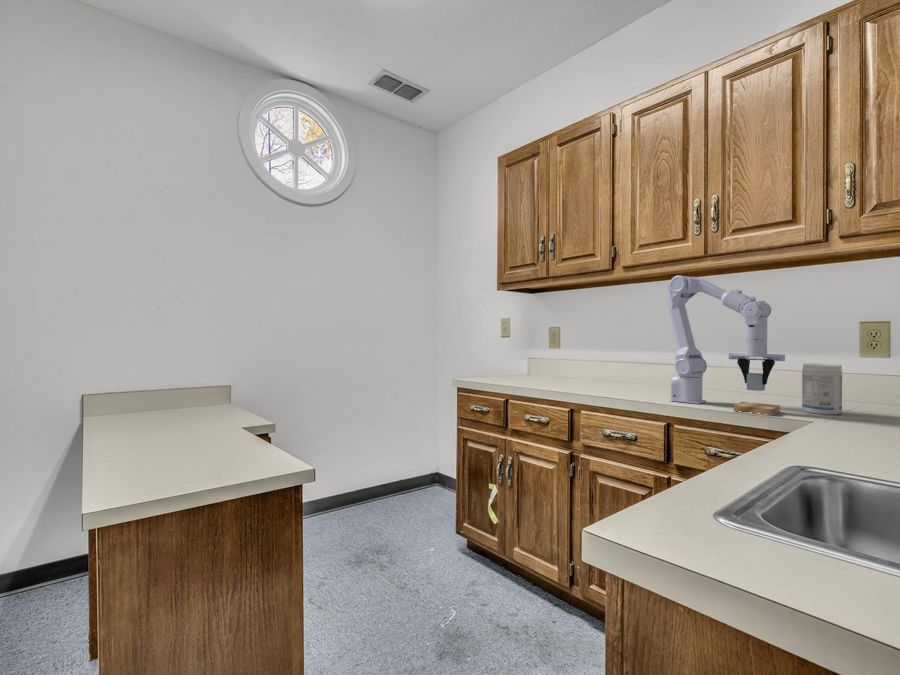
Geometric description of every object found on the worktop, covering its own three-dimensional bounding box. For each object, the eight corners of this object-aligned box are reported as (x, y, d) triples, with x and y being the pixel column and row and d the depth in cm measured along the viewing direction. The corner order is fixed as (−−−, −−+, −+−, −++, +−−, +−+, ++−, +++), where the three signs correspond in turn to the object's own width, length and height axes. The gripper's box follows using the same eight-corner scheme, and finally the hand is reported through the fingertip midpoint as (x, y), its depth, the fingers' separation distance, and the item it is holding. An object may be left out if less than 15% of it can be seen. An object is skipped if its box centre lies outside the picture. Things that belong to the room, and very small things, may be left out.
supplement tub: (817, 409, 146) (818, 363, 146) (850, 414, 137) (851, 365, 137) (793, 410, 144) (794, 363, 144) (825, 416, 135) (826, 365, 135)
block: (746, 389, 143) (746, 373, 143) (749, 388, 146) (750, 372, 146) (761, 390, 140) (762, 374, 140) (764, 389, 143) (765, 373, 143)
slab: (733, 411, 142) (733, 405, 142) (742, 407, 149) (742, 401, 149) (772, 416, 135) (772, 409, 135) (780, 411, 142) (780, 405, 142)
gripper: (787, 339, 140) (786, 384, 140) (732, 339, 150) (732, 380, 151) (782, 340, 135) (782, 386, 135) (726, 339, 145) (726, 382, 146)
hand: (755, 383), depth 143 cm, fingers closed on block, 4 cm apart
